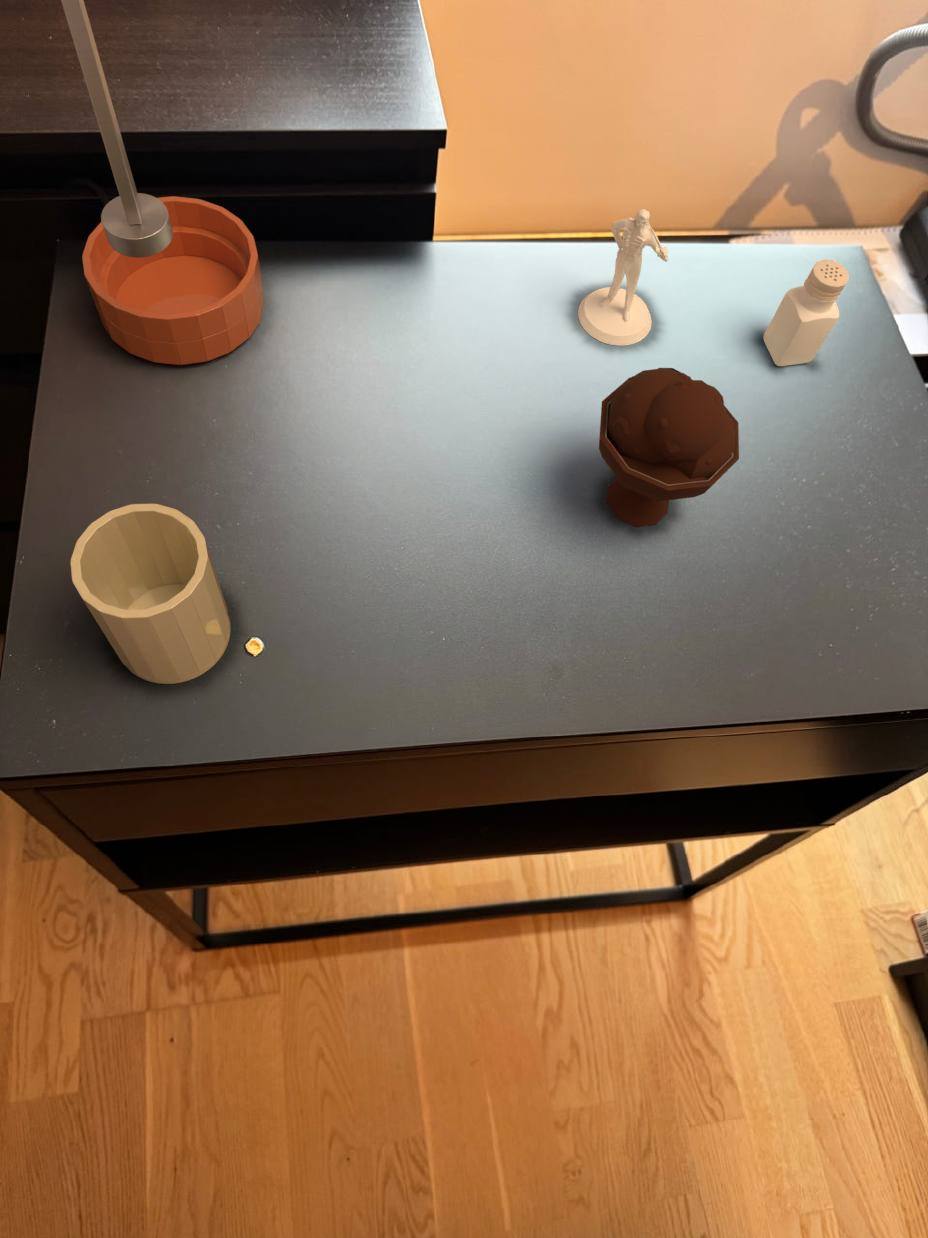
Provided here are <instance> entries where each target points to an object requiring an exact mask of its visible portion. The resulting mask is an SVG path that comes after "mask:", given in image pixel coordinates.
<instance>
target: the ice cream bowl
mask: <svg viewBox="0 0 928 1238" xmlns="http://www.w3.org/2000/svg"><path fill="white" fill-rule="evenodd" d="M600 409H601V411H600V422H599V424H600V425H599V437H598V438H599V440H598V450H599V453H600V456H601V459H602V460H603V461H604V463H605V464H606V465H607V466H608V468H609V469H610V471H611V472H612V474H613V475H614V476H615V479H613V480H612V481H611V482H610V483H609V484H608V485H607V486H606V501H605V504H606V505H607V507H608V508H609V510H610V511H611V512H612V513H613V515H614V516H615V518H616V519H617V520H619V521H621V522H624V523H626V524H628V525H631V526H632V527H635V528H640V527H647V526H656V525H657V524H658V523H659V522H660V521H661V520H662V519H663V518H664V517H665V516H666V515H667V514H668V513H669V501H674V500H683V499H692V498H696V497H699V496H701V495H704V494H705V493H706V492H708V490H709V489H711V487H713V486H714V485H715V484H716V482H718V481H719V480H720V479H721V478H722V477H723V476H724V475H725V474H726V473H727V472H728V471H729V470H730V469H731V468H732V467H733V466H734V465H735V464H736V463H737V462H738V461H739V459H740V434H739V430H740V429H739V422H738V420H737V419H736V418H735V416H733V414H732V413H731V411H729V409H728V408H727V407H726V405H725V401H724V396H723V395H722V394H721V393H720V391H719V390H718V389H717V388H716V387H715V386H713V385H710V384H707V383H706V382H705V381H704V380H702V379H692V377H691V376H689V375H687V374H686V373H684V372H681V371H680V370H677V369H676V368H673V367H658V368H653V369H645V370H641V371H639V372H638V373H637V374H635V375H632V376H630V377H628V378H627V379H626V380H625V381H624V382H623V383H621V384H620V385H619V386H618V387H617V388H616V389H614V390H613V391H612V392H610V394H609V395H607V396H606V397H605V398H604V399H603V400H602V401H601V408H600Z"/></svg>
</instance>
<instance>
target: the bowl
mask: <svg viewBox="0 0 928 1238" xmlns="http://www.w3.org/2000/svg"><path fill="white" fill-rule="evenodd" d="M156 198H157V199H159V200H160V201H161V202H163V204H164V205H165V206H166V208H167V210H168V214H169V218H170V222H171V226H172V230H173V236H172V240H171V242H170V244H169V245H168V246H167V247H166V248H165V249H164V250H163V251H161V252H159V253H157V254H155V255H152V256H149V257H142V258H135V257H128V256H125V255H122V254H120V253H118V252H117V251H115V250H114V249H113V248H112V247H111V246H110V244H109V242H108V240H107V237H106V234H105V230H104V227H103V224H102V221H100V223H98V225H97V226H96V227H95V228H94V229H93V230H92V231H91V233H90V234H89V235H88V237H87V240H86V243H85V246H84V249H83V252H82V255H81V256H82V257H81V258H82V264H83V265H82V266H83V275H84V278H85V281H86V283H87V286H88V288H89V292H90V294H91V297H92V299H93V302H94V305H95V308H96V311H97V313H98V317H99V318H100V319H99V320H100V322H101V323H102V326H103V327H104V328H105V330H106V332H107V334H108V335H109V336H110V338H111V340H112V341H113V342H114V343H116V344H117V345H118V346H120V347H121V348H122V349H123V350H125V351H126V352H128V353H129V354H130V355H133V356H136V357H139V358H141V359H144V360H147V361H149V362H152V363H158V364H166V365H177V366H183V365H184V366H185V365H192V364H197V363H206V362H209V361H212V360H214V359H217V358H219V357H222V356H224V355H227V354H229V353H231V352H232V351H234V350H236V349H237V348H238V347H239V346H241V345H242V344H243V343H244V342H246V341H247V340H248V339H250V337H251V336H252V335H253V333H254V331H255V330H256V329H257V327H258V326H259V325H260V323H261V321H262V317H263V311H264V307H265V294H264V288H263V281H262V275H261V267H260V266H261V265H260V260H259V253H258V250H257V249H258V248H257V246H256V241H255V237H254V235H253V234H252V232H251V231H250V230H249V228H248V227H247V225H245V223H244V221H243V220H242V219H240V218H239V217H238V216H237V215H235V214H233V213H232V212H230V211H229V210H228V209H226V208H224V207H223V206H220V205H217V204H214V203H212V202H209V201H206V200H204V199H201V198H193V197H185V196H176V195H174V196H173V195H172V196H161V197H156Z"/></svg>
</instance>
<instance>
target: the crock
mask: <svg viewBox="0 0 928 1238" xmlns="http://www.w3.org/2000/svg"><path fill="white" fill-rule="evenodd" d="M69 563H70V572H71V581H72V584H73V585H74V587H75V589H76V591H77V592H78V594H79V596H80V598H81V599H82V601H83V602H84V604H85V606H86V607H87V609H88V610H89V612H90V614H91V615H92V617H93V619H94V620H95V622H96V624H97V625H98V627H99V628H100V630H101V631H102V633H103V634H104V636H105V637H106V639H107V641H108V642H109V645H110V646H111V647H112V649H113V651H114V652H115V654H116V655H117V657H118V659H119V661H121V663H122V664H123V665H124V667H125V668H126V669H127V670H128V671H130V672H131V673H132V674H133V675H135V676H136V677H138V678H140V679H142V680H144V681H147V682H150V683H155V684H162V685H174V684H181V683H184V682H188V681H191V680H193V679H196V678H198V677H200V676H202V675H203V674H205V673H207V672H208V671H209V670H211V669H212V668H213V667H214V666H216V664H217V663H218V661H220V659H221V658H222V656H223V655H224V654H225V652H226V649H227V647H228V645H229V642H230V637H231V631H232V627H231V620H230V619H231V618H230V614H229V610H228V606H227V603H226V600H225V597H224V594H223V591H222V588H221V585H220V580H219V578H218V575H217V572H216V568H215V566H214V563H213V559H212V556H211V553H210V550H209V547H208V544H207V540H206V537H205V535H203V532H202V531H201V529H200V527H198V525H197V524H196V523H195V521H194V520H193V519H191V518H190V517H189V516H187V515H186V514H184V513H182V512H181V511H180V510H179V509H176V508H173V507H169V506H165V505H162V504H159V503H131V504H127V505H125V506H121V507H117V508H115V509H112V510H110V511H107V512H105V514H103V515H102V516H100V517H99V518H97V519H96V520H94V521H92V522H91V523H90V524H89V525H88V526H87V527H86V529H85V530H84V531H83V532H82V534H81V535H80V536H79V538H78V539H77V541H76V542H75V545H74V549H73V551H72V554H71V557H70V561H69Z"/></svg>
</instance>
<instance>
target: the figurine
mask: <svg viewBox="0 0 928 1238" xmlns="http://www.w3.org/2000/svg"><path fill="white" fill-rule="evenodd" d="M650 215H651V213H650V211H649V210H647V209H645V208H641V209H639V210H638V211H637V213H636V214H635V215H634V216H633V217H627V218H622V219H618V220H615V221H614V222H613V223H611V233H612V235H613V238H614V240H615V243H616V245H617V247H618V250H617V252H616V258H615V265H614V266H615V267H614V274H613V278H612V281H611V284H610V286H606V287H601V288H599V289H596V290H594V291H592V292H591V293H589V294H587V295H586V296H585V297H584V298H583V299H582V300H581V302H580V304H578V305H579V306H578V309H577V317H578V321H579V324H580V326H581V328H583V330H584V331H585V332H586V334H588V335H590V336H591V337H592V338H593V339H595V340H596V341H599V342H601V343H604V344H606V345H607V344H608V345H611V346H619V347H621V346H623V347H624V346H630V345H634V344H637V343H639V342H640V341H642V340H643V339H645V338H646V337H647V336H648V335H649V333H650V331H651V329H652V325H653V324H652V323H653V321H652V316H651V312H650V310H649V308H648V306H647V304H646V302H644V300H643V299H642V298H641V297H640V296H638V295H637V294H636V289H637V286H638V283H639V279H640V276H641V270H642V262H643V257H642V256H643V249H644V248H645V247H650V248H651V249H652V250H653V252H654V253H655V254H656V255H657V257H658V258H660V259H661V260H662V261H663V262H666V263H667V262H668V261H669V255H668V253H669V249H668V248H667V247H666V246H662V244H661V241H660V240H659V237H658V236H657V233H656V232H655V230H654V229H653V227H652V226H651V224H650V222H649V220H650ZM621 232H622V235H621ZM624 278H625V280H626V288H622V287H621V286H622V283H623V282H624V281H623V280H624Z"/></svg>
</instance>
